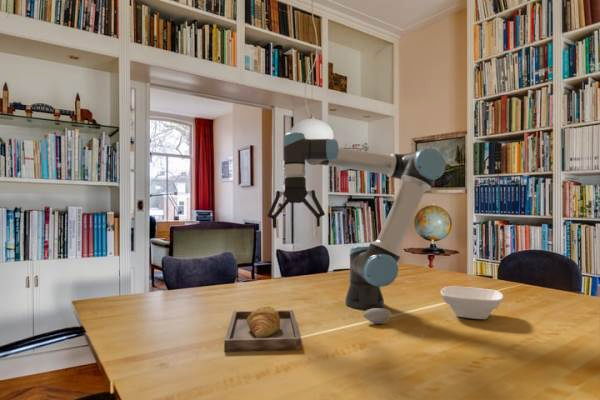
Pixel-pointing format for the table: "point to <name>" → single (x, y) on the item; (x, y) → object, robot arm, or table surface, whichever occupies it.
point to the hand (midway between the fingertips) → (296, 236)
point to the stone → (377, 315)
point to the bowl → (471, 301)
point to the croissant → (264, 322)
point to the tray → (245, 340)
